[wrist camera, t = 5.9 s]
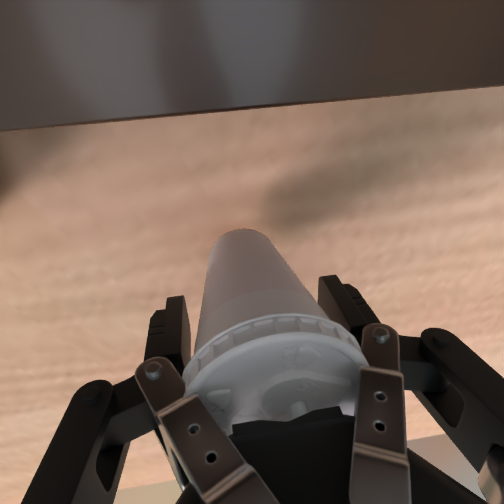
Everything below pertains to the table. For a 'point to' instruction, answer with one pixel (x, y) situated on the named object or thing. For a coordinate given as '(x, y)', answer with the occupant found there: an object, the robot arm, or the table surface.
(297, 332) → the smoothie
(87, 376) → the table surface
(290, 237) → the table surface
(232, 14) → the box
